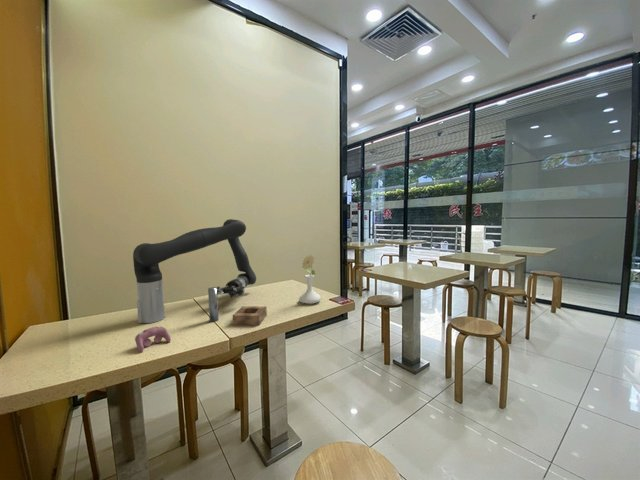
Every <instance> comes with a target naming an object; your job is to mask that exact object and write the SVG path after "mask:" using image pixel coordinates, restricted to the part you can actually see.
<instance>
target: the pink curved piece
mask: <svg viewBox="0 0 640 480" xmlns="http://www.w3.org/2000/svg"><path fill="white" fill-rule="evenodd" d="M151 337H154V338H153V341H152V340H151ZM163 338H164V340H165V341H166V342H167V343H171V341H172V339H171V336H170V334H169V332H168V330H167V328H166V327H163V326H153V327H150V328H147V329H144V330H142V331H140V332H139V333H137V334H136V336H135V338H134V341H135V345H136V347H137V349H138V351H139V352H140V353H144V350H145V348H146V347H150V346H151V344H152V342H154V343H155V344H159V343H160V342H161V341H162V339H163ZM144 347H145V348H144Z"/></svg>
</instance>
